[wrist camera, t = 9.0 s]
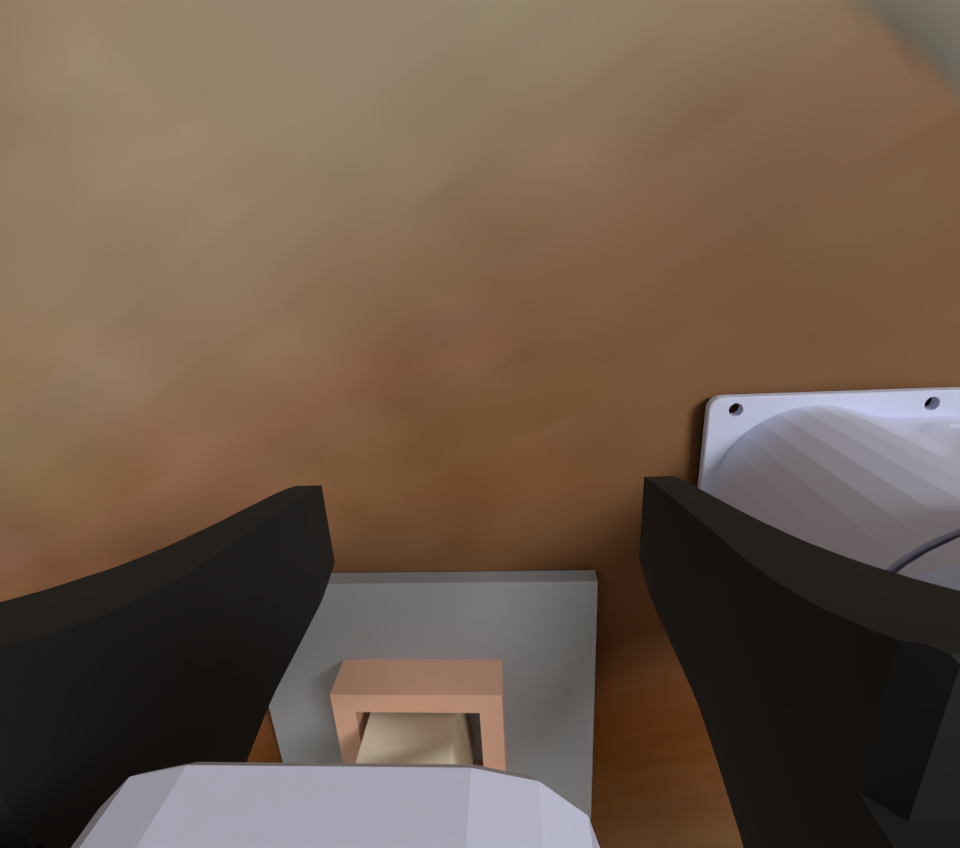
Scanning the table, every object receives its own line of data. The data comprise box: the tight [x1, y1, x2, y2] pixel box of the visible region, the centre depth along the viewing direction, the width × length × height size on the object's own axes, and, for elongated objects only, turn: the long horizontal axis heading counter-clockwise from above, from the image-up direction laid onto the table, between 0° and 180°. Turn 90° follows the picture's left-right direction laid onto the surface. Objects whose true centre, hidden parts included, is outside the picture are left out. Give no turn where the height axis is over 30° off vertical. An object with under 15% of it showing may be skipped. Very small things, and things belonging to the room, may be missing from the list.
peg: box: [356, 712, 475, 764], centre depth 22 cm, size 4×4×7 cm
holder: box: [269, 570, 598, 822], centre depth 24 cm, size 16×16×3 cm
